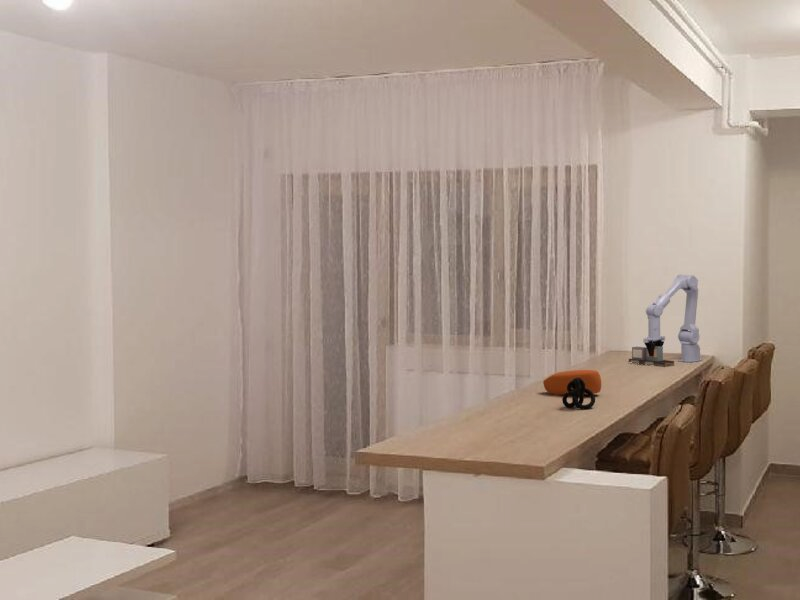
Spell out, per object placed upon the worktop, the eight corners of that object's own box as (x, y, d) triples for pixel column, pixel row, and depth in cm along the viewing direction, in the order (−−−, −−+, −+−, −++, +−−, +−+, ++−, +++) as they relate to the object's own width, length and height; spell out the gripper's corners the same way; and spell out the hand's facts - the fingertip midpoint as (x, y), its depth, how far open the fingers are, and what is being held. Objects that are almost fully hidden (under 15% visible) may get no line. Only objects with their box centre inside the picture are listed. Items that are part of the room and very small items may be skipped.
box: (637, 360, 553) (637, 346, 553) (648, 361, 548) (648, 347, 547) (631, 360, 551) (631, 347, 550) (642, 362, 545) (642, 348, 545)
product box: (651, 359, 546) (651, 345, 546) (662, 360, 541) (662, 346, 540) (646, 360, 543) (646, 346, 543) (657, 361, 538) (657, 347, 537)
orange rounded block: (540, 399, 456) (597, 396, 444) (537, 374, 456) (594, 370, 443) (550, 395, 466) (606, 392, 454) (547, 370, 466) (603, 367, 454)
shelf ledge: (638, 361, 555) (638, 357, 555) (674, 365, 538) (674, 361, 537) (628, 363, 550) (628, 358, 550) (663, 367, 533) (663, 362, 532)
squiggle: (579, 422, 422) (580, 397, 434) (597, 408, 416) (599, 383, 428) (557, 405, 419) (559, 381, 431) (575, 391, 413) (578, 367, 425)
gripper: (657, 327, 549) (657, 353, 550) (638, 329, 540) (638, 356, 541) (668, 328, 543) (668, 355, 544) (649, 330, 534) (650, 357, 535)
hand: (654, 355), depth 542 cm, fingers closed on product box, 4 cm apart
